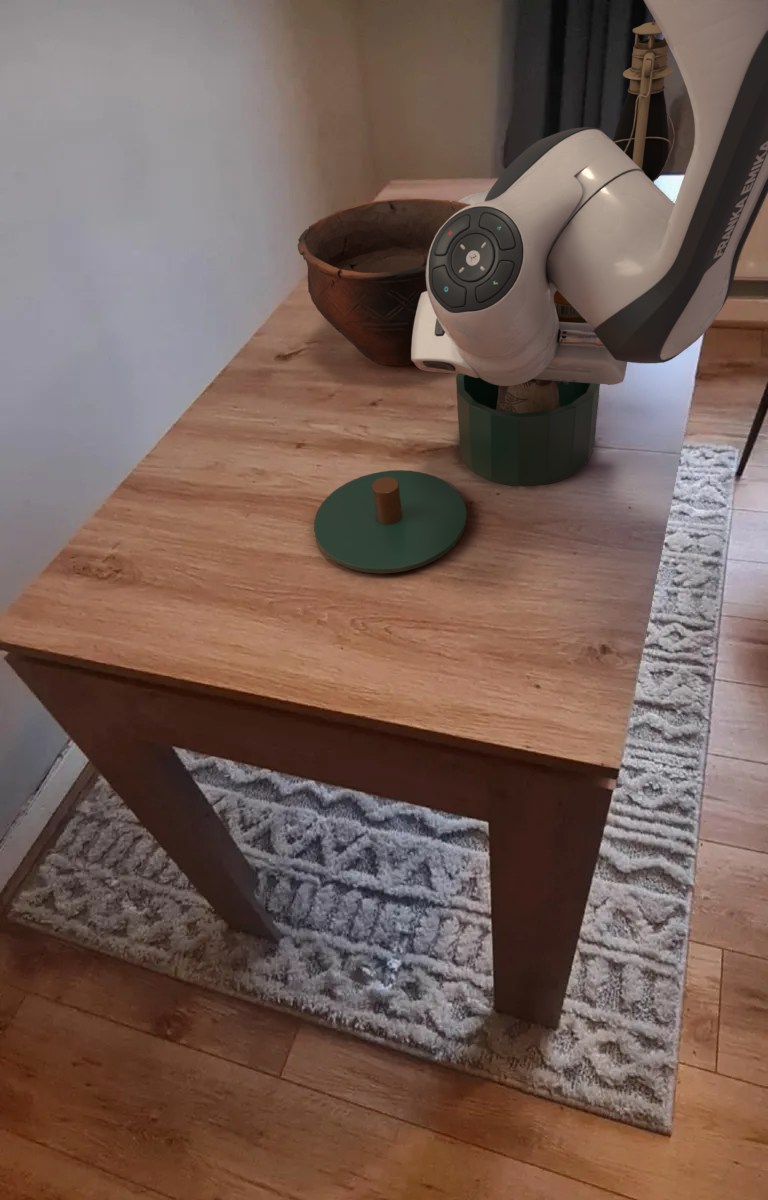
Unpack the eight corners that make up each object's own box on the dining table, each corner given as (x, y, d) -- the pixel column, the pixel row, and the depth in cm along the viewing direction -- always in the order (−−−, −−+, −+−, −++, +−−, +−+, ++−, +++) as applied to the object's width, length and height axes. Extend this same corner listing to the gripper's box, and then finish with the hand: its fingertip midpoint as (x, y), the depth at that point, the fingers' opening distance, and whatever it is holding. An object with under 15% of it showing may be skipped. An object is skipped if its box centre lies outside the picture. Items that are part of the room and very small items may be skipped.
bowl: (513, 302, 113) (513, 189, 103) (480, 395, 97) (476, 273, 86) (347, 299, 120) (332, 193, 109) (291, 386, 104) (266, 271, 93)
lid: (498, 517, 81) (498, 476, 77) (388, 602, 74) (382, 561, 70) (392, 461, 90) (387, 422, 86) (285, 532, 83) (275, 492, 79)
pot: (619, 438, 88) (628, 369, 82) (535, 504, 82) (537, 434, 76) (517, 396, 96) (517, 330, 90) (433, 453, 90) (427, 386, 84)
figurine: (528, 404, 91) (532, 303, 82) (573, 429, 86) (582, 325, 78) (480, 429, 88) (479, 327, 80) (525, 456, 84) (529, 352, 75)
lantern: (596, 213, 132) (613, -11, 111) (671, 212, 129) (704, -18, 108) (587, 250, 123) (605, 12, 101) (668, 250, 120) (704, 5, 98)
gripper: (636, 300, 67) (635, 349, 80) (404, 290, 73) (439, 338, 86) (623, 375, 67) (625, 412, 80) (394, 359, 73) (430, 396, 86)
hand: (527, 374), depth 83 cm, fingers closed on figurine, 6 cm apart
